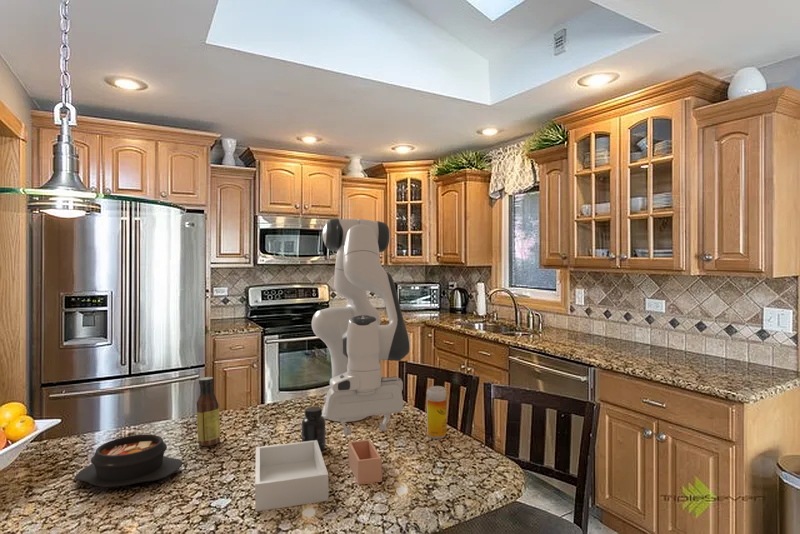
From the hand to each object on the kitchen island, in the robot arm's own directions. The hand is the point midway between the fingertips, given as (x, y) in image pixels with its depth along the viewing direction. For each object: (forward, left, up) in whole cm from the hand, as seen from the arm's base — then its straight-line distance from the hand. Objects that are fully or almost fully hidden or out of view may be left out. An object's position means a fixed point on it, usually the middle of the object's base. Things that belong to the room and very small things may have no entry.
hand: (365, 432), depth 122 cm
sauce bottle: (-35, -41, -11) cm, 55 cm away
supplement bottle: (-20, -11, -11) cm, 25 cm away
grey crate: (0, -19, -10) cm, 22 cm away
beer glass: (-19, +27, -11) cm, 34 cm away
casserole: (-17, -58, -11) cm, 61 cm away
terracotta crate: (-1, 0, -11) cm, 11 cm away
